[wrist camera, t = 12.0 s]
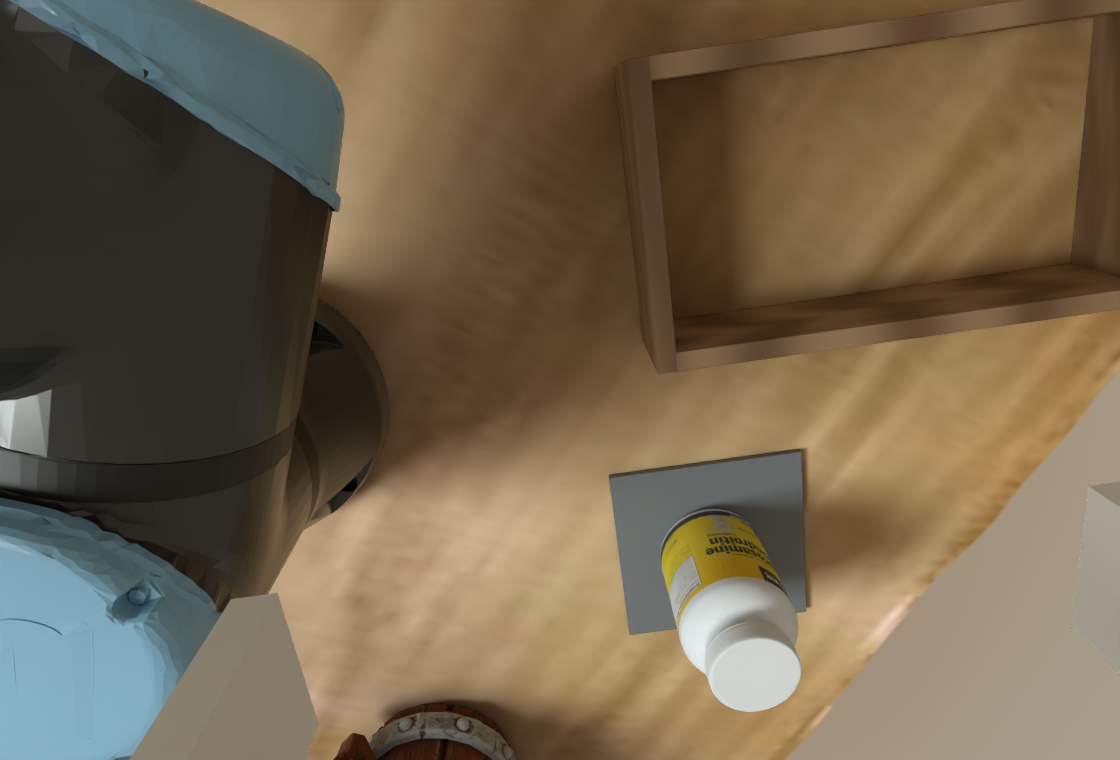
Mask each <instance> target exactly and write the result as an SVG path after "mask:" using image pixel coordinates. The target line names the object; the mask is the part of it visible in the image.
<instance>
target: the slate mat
mask: <svg viewBox="0 0 1120 760" xmlns="http://www.w3.org/2000/svg"><path fill="white" fill-rule="evenodd" d="M609 480H610V487H611V495H612V503H613V510H614V518H615V526H616V533H617V541H618V549H619V556H620V564H621V572H622V579H623V587H624V595H625V602H626V610H627V618H628V625H629V633H630V635H634V634H641V633H649V632H656V631H664V630H671V629H677V626H676V622H675V618H674V614H673V610H672V606H671V602H670V598H669V594H668V590H667V586H666V582H665V579H664V575H663V571H662V566H661V559H660V554H661V547H662V543H663V541H664V538H665V536H666V534H667V533H668V531H669V530H670V529H671V527H672V526H673V525H674V524H675V523H676V522H678V521H679V520H680V519H682V518H683V517H685V516H687V515H689V514H691V513H693V512H696V511H700V510H705V509H721V510H726V511H729V512H732V513H735V514H737V515H739V516H740V517H742V518H743V519H745V520H746V521H747V522H748V523H749V524H750V525H751V526H752V528H753V529H754V530H755V532H756V534H757V535H758V537H759V539H760V541H761V543H762V545H763V547H764V549H765V551H766V553H767V555H768V557H769V559H770V561H771V563H772V565H773V567H774V569H775V571H776V573H777V575H778V577H779V579H780V581H781V582H782V585H783V587H784V589H785V591H786V593H787V595H788V597H789V599H790V601H791V602H792V604H793V607H794V609H795V612H796V613H799V612H806V585H805V553H804V521H803V489H802V457H801V451H800V449H797V450H789V451H782V452H775V453H768V454H760V455H753V456H746V457H738V458H731V459H724V460H717V461H709V462H702V463H695V464H688V465H680V466H673V467H666V468H658V469H651V470H644V471H637V472H629V473H622V474H615V475H609Z"/></svg>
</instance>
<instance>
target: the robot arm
mask: <svg viewBox="0 0 1120 760" xmlns="http://www.w3.org/2000/svg"><path fill="white" fill-rule="evenodd" d="M344 118H345V115H344V105H343V101H342V97H341V94H340V92H339V90H338V88H337V86H336V84H335V82H334V81H333V79H332V77H331V76H330V75H329V73H328V72H327V71H326V70H325V69H324V68H323V67H322V66H321V65H320V64H319V63H317V62H316V61H315V60H314V59H313V58H311V57H310V56H308V55H307V54H305V53H303V52H302V51H300V50H298V49H296V48H294V47H293V46H291V45H289V44H287V43H285V42H283V41H281V40H279V39H277V38H275V37H273V36H271V35H269V34H267V33H265V32H263V31H261V30H259V29H257V28H254V27H252V26H250V25H248V24H246V23H244V22H242V21H240V20H237V19H235V18H233V17H231V16H229V15H227V14H224V13H222V12H220V11H218V10H215V9H213V8H211V7H209V6H207V5H204V4H202V3H200V2H198V1H195V0H0V760H306V758H307V756H308V753H309V750H310V747H311V744H312V742H313V739H314V736H315V733H316V730H317V728H318V725H319V724H318V721H317V717H316V714H315V711H314V708H313V705H312V702H311V698H310V695H309V692H308V689H307V686H306V683H305V679H304V676H303V673H302V670H301V667H300V663H299V660H298V657H297V654H296V651H295V648H294V644H293V641H292V638H291V635H290V632H289V629H288V625H287V622H286V619H285V616H284V613H283V610H282V606H281V603H280V600H279V597H278V594H277V593H274V594H268V593H269V591H270V589H271V587H272V586H273V584H274V582H275V580H276V578H277V577H278V575H279V573H280V571H281V569H282V568H283V566H284V564H285V562H286V560H287V559H288V557H289V555H290V553H291V551H292V550H293V548H294V546H295V544H296V542H297V541H298V539H299V537H300V535H301V533H302V532H303V530H305V529H307V528H308V527H310V526H312V525H313V524H315V523H317V522H318V521H320V520H322V519H323V518H325V517H327V516H328V515H330V514H332V513H333V512H335V511H336V510H337V509H339V508H340V507H341V506H343V505H344V504H345V503H346V502H347V501H348V500H349V499H350V498H351V497H352V496H353V495H354V494H355V493H356V492H357V491H358V490H359V488H360V487H361V486H362V484H363V483H364V482H365V480H366V479H367V477H368V475H369V474H370V472H371V470H372V468H373V466H374V464H375V462H376V460H377V457H378V455H379V453H380V451H381V448H382V446H383V443H384V440H385V436H386V431H387V425H388V413H389V412H388V397H387V391H386V386H385V382H384V378H383V375H382V373H381V370H380V367H379V365H378V363H377V360H376V358H375V357H374V355H373V353H372V351H371V349H370V348H369V346H368V345H367V343H366V342H365V340H364V339H363V338H362V336H361V335H360V334H359V333H358V332H357V330H356V329H355V328H354V327H353V326H352V325H351V324H350V323H349V322H348V321H347V320H346V319H345V318H344V317H343V316H342V315H340V314H339V313H338V312H337V311H335V310H334V309H333V308H332V307H330V306H329V305H327V304H326V303H324V302H323V301H321V300H319V299H318V295H319V289H320V283H321V277H322V271H323V265H324V259H325V253H326V247H327V241H328V235H329V229H330V223H331V217H332V211H335V212H338V211H339V209H340V196H339V195H338V193H337V192H336V187H337V179H338V170H339V162H340V154H341V146H342V137H343V129H344ZM1072 629H1073V630H1074V631H1075V632H1076V633H1077V634H1078V635H1079V636H1080V637H1081V638H1082V639H1083V640H1085V642H1087V643H1088V644H1089V645H1090V646H1091V647H1092V648H1093V649H1094V650H1095V651H1096V652H1097V653H1098V654H1099V655H1100V656H1101V657H1102V658H1103V659H1104V660H1105V661H1106V662H1107V663H1108V664H1109V665H1110V666H1111V667H1112V668H1113V669H1114V670H1116V672H1118V674H1120V482H1115V483H1108V484H1100V485H1093V486H1089V487H1088V494H1087V502H1086V511H1085V520H1084V527H1083V535H1082V544H1081V552H1080V561H1079V569H1078V577H1077V585H1076V593H1075V602H1074V611H1073V619H1072Z"/></svg>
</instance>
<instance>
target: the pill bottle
mask: <svg viewBox="0 0 1120 760" xmlns="http://www.w3.org/2000/svg"><path fill="white" fill-rule="evenodd" d="M660 559H661V566H662V571H663V575H664V579H665V582H666V586H667V590H668V594H669V598H670V602H671V606H672V610H673V614H674V618H675V622H676V626H677V630H678V634H679V638H680V641H681V644H682V647H683V650H684V652H685V654H686V655H687V657H688V658H689V660H690V661H691V662H692V663H693V664H694V665H695V666H696V667H697V668H698V669H699V670H700V671H702V672H703V673H705V674H706V675H707V678H708V681H709V684H710V686H711V689H712V691H713V693H714V695H715V696H716V697H717V698H718V699H719V700H720V701H721V702H722V703H723V704H725V705H726V706H728V707H730V708H733V709H735V710H739V711H747V712H754V711H762V710H766V709H769V708H772V707H774V706H776V705H778V704H780V703H782V702H783V701H785V700H786V699H787V698H788V697H789V696H790V695H791V694H792V693H793V692H794V690H795V689H796V687H797V686H798V683H799V681H800V677H801V663H800V660H799V657H798V655H797V652H796V650H795V648H794V646H795V643H796V640H797V635H798V620H797V615H796V612H795V609H794V607H793V604H792V602H791V601H790V599H789V597H788V595H787V593H786V591H785V589H784V587H783V585H782V582H781V581H780V579H779V577H778V575H777V573H776V571H775V569H774V567H773V565H772V563H771V561H770V559H769V557H768V555H767V553H766V551H765V549H764V547H763V545H762V543H761V541H760V539H759V537H758V535H757V534H756V532H755V530H754V529H753V528H752V526H751V525H750V524H749V523H748V522H747V521H746V520H745V519H743V518H742V517H740V516H739V515H737V514H735V513H732V512H729V511H726V510H721V509H705V510H700V511H696V512H693V513H691V514H689V515H687V516H685V517H683V518H682V519H680V520H679V521H678V522H676V523H675V524H674V525H673V526H672V527H671V529H670V530H669V531H668V533H667V534H666V536H665V538H664V541H663V543H662V547H661V554H660Z"/></svg>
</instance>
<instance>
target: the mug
mask: <svg viewBox="0 0 1120 760" xmlns="http://www.w3.org/2000/svg"><path fill="white" fill-rule="evenodd" d="M506 739H507V738H506V737H505V735H504V734H503V733H502V731H501V730H500V729H499V728H498V726H497V725H496V724H495V723H493V722H492V721H490V720H489V719H487V718H486V717H484V716H482V715H481V714H479V713H478V712H476V711H474V710H470V709H466V708H463V707H459V706H454V708H453V709H452V710H451V711H449V710H448V708H447V705H446V704H425V705H422V706H418V707H415V708H412V709H408V710H405V711H402V712H399V713H398V714H397V715H395V716H394V717H392V718H391V719H389V720H388V721H387V722H385V725H384V727H383V728H379V730H378V731H377V732H376V733H375V734H373V735H372V737H371V738H370V740H369V741H367V739H366V737H365V736H364V735H360V734H357V733H352V734H351V735H350V736H349V737H348V738H347V739H346V740H345V741H344V742H343V743H342V744H341V747H340V749H339V752H338V754H337V756H336V757H335V758H334V759H333V760H516V758H515V754H514V752H513V751H512V749H511V748H510V745H509V744H508V743H506Z"/></svg>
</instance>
